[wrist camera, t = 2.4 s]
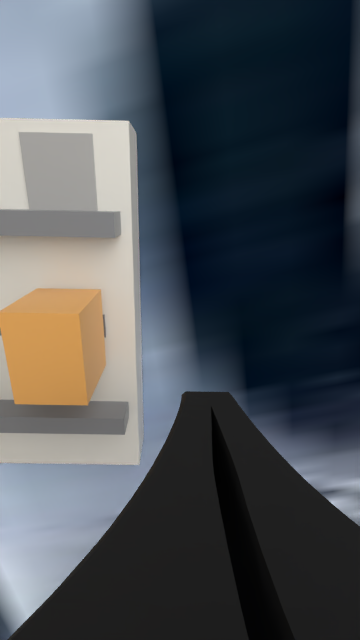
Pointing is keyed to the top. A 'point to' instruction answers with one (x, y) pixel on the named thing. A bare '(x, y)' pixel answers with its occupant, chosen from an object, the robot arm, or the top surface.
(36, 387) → the lever
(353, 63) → the top surface
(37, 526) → the top surface
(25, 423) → the panel
